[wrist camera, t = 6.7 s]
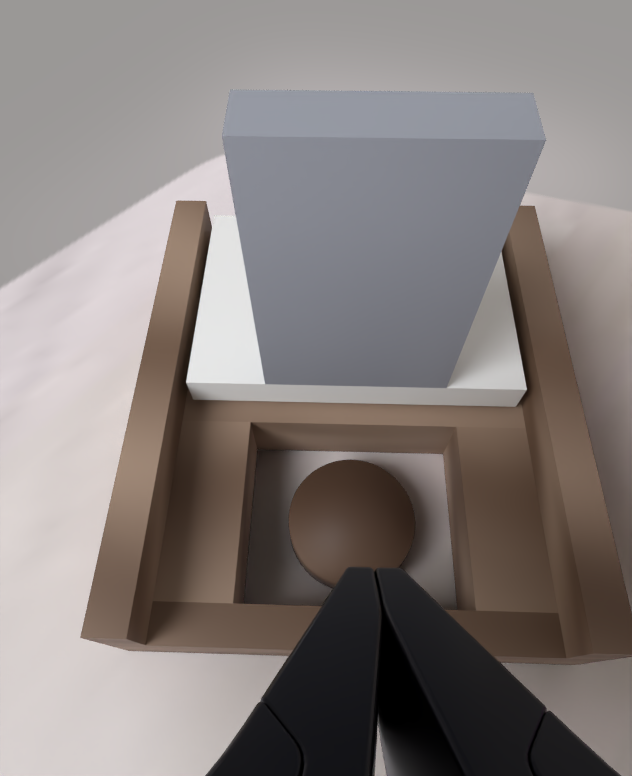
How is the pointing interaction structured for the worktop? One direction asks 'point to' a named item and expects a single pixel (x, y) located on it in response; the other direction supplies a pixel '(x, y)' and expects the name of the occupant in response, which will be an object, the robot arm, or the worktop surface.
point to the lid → (366, 249)
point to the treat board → (358, 493)
